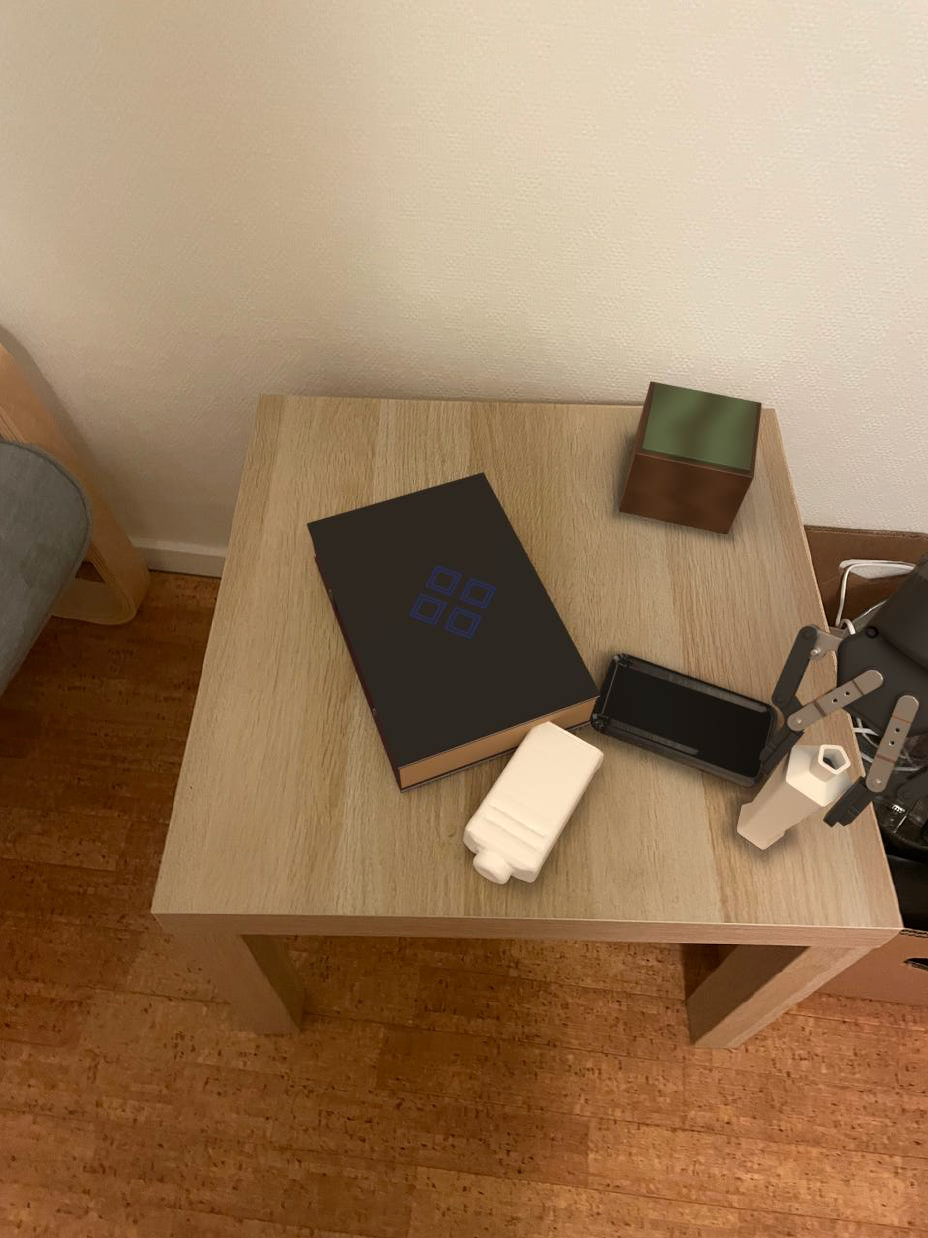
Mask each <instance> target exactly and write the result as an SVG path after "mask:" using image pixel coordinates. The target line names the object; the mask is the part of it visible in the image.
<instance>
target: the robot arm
mask: <svg viewBox="0 0 928 1238" xmlns="http://www.w3.org/2000/svg"><path fill="white" fill-rule="evenodd" d="M789 651H790V652H789V654H788V656H787V658H786V661H785V663H784V666H783V668H782V670H781V673H780V674H779V677H778V680H777V681H776V684H775V687H774V689H773V692H772V694H771V697H770V700H771V704H772V705H774V706H775V707H776V708H777V709H778V710H779V712H780V713H781V715H782V717H783V724H782V726H781V727H780V729H778V731H777V732H775V734H774V737H773V738H772V739H771V740H770V741H769V743H768V744H767V745H766V746H765V747H764V748H763V750H762V751H761V752H760V756H759V760H761V761H762V762H763V763H764V765H763V766H762V767H761V768H760V771H761V772H763V773H764V774H765V776H766V777H768V776H769V775H770V774H771V773H773V771H774V769H776V768H777V767H778V766H779V764H780V763H781V762H782V760H783V759H784V757H785V756H786V755H787V753H788V752H789V751H790V750H791V749H792V747H793V746H794V745H797V744H798V742H799V741H800V739H801V738H802V737H803V736H804V734H805V733H806V732H804V731H805V729H807V728H808V727H810V726H811V725H813V724H815V723H817V722H818V721H821V720H822V719H824V718H827V717H828V716H831V715H832V714H834V713H835V712H837V711H839V710H841V709H842V710H843V711H844V712H846V713H847V714H849V716H852V717H853V718H856V719H859V720H860V721H862V722H864V724H865V725H866V726H867V727H868V728H869V729H870V731H871V732H873V733H874V734H875V735H876V736H878V737H879V738H881V740H880V742H879V745H878V747H877V750H876V752H875V754H874V757H873V760H872V763H871V765H870V767H869V770H868V771H867V773H866V774H865V775H864V776H863V775H860V776H859V777H857V779H856V780H855V781H854V782H853V783H852V786H851V787H850V788H849V789H848V790H847V791H845V792H844V793H843V794H842V795H841V797H840V798H839V799H837V801H836V802H835V803H834V804H833V805H832V806H831V807H830V808H829V809H828V810H827V812H826V813H825V815H824V817H823V820H822V822H824V823H825V824H826V825H827V826H828V827H830V828H833V827H835V825H836V824H837V823H838V824H840V825H841V826H843V827H846V826H848V825H850V824H852V823H853V822H854V821H855V820H856V819H857V818H858V817H859V816H860V814H862V813H863V812H864V810H865V809H866V808H867V807H868V806H869V805H870V804H871V803H872V801H874V799H875V798H877V797H879V796H888V797H891V798H894V799H897V800H899V801H900V802H901V803H902V804H905V805H911V804H914V803H915V802H917V801H919V800H921V799H922V798H924V797H926V796H928V763H926V764H925V765H923V766H921V767H920V768H918V769H916V770H914V771H913V772H911V773H909V774H907V775H905V776H902V775H899V774H896V773H894V772H893V769H894V767H895V765H896V762H897V761H898V758H899V755H900V753H901V751H902V748H903V746H904V743H905V741H906V739H908V738H913V737H919V736H923V735H928V550H927V551H926V552H924V553H923V554H922V555H921V557H920V558H919V559H918V561H917V564H916V565H915V566H914V567H913V568H912V570H910V572H909V573H908V575H907V576H906V577H905V578H904V579H903V580H902V581H901V582H900V583H899V585H898V586H897V587H896V588H895V589H894V590H893V592H891V594H890V595H889V596H888V598H887V599H886V600H885V601H884V602H883V603H882V605H881V606H880V607H879V608H878V609H877V611H876V612H875V613H874V614H873V616H871V618H870V619H869V620H868V622H866V624H865V625H864V626H863V627H862V628H861V629H859V630H858V631H857V632H854V633H851V634H849V635H847V636H845V637H842V636H838V635H836V634H833V633H830V632H829V631H825V630H823V629H821V627H820V626H818V625H817V624H815V623H809V624H806V625H804V626H803V627H801V628H800V629H799V630H798V633H797V635H796V637H795V639H794V641H793V644H792V646H791V649H790V650H789ZM829 652H836V684H835V686H833V687H831V688H830V689H828V690H827V691H825V692H823V693H822V694H820V695H819V696H817V697H815V698H813V699H812V700H811V701H809V702H807V703H806V704H802V702H801V701H800V700H799V698H798V696H797V695H796V694H797V692H798V690H799V688H800V685H801V683H802V681H803V678H804V676H805V674H806V671H807V669H808V666H809V664H810V662H811V661H815V662H818V661H820V660H822V659H823V658H824V657H825V656H826V654H828V653H829Z"/></svg>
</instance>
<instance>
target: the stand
mask: <svg viewBox="0 0 928 1238" xmlns="http://www.w3.org/2000/svg"><path fill="white" fill-rule="evenodd" d="M762 405H763V403H762V402H759V401H755V400H749V399H744V398H739V397H733V396H728V395H724V394H719V393H713V392H708V391H704V390H698V389H693V388H687V387H683V386H678V385H672V384H667V383H662V382H657V381H652V380H651V381H650V382H649V384H648V387H647V392H646V396H645V399H644V403H643V406H642V411H641V414H640V418H639V421H638V424H637V429H636V432H635V436H634V439H633V444H632V449H631V454H630V457H629V463H628V467H627V473H626V477H625V480H624V481H625V482H624V486H623V491H622V496H621V500H620V504H619V512H621V513H626V514H631V515H635V516H640V517H645V518H650V519H654V520H658V521H664V522H668V523H673V524H677V525H682V526H687V527H691V528H695V529H700V530H705V531H709V532H715V533H719V534H724V535H728V534H729V532H730V530H731V527H732V525H733V523H734V521H735V519H736V516H737V514H738V512H739V510H740V508H741V506H742V503H743V501H744V500H745V497H746V495H747V493H748V491H749V489H750V487H751V485H752V482H753V480H754V478H755V472H756V471H755V469H756V461H757V450H758V443H759V433H760V432H759V431H760V423H761V413H762V407H763V406H762Z"/></svg>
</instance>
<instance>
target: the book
mask: <svg viewBox="0 0 928 1238" xmlns="http://www.w3.org/2000/svg"><path fill="white" fill-rule="evenodd" d="M306 526H307V529H308V532H309V535H310V538H311V541H312V546H313V551H314V555H315V556H314V562H315V564H316V567H317V569H318V572H319V575H320V578H321V580H322V583H323V586H324V588H325V591H326V594H327V597H328V599H329V602H330V605H331V607H332V610H333V613H334V616H335V619H336V621H337V624H338V627H339V629H340V632H341V635H342V638H343V641H344V643H345V646H346V648H347V651H348V654H349V656H350V659H351V662H352V664H353V667H354V671H355V673H356V676H357V678H358V681H359V683H360V686H361V689H362V691H363V694H364V697H365V700H366V702H367V705H368V708H369V711H370V713H371V716H372V718H373V721H374V725H375V727H376V729H377V732H378V735H379V738H380V740H381V743H382V746H383V749H384V751H385V755H386V757H387V759H388V762H389V764H390V767H391V770H392V773H393V776H394V778H395V781H396V784H397V786H398V789H399V792H400V794H403V793H405V792H409V791H411V790H413V789H416V788H417V789H418V788H419V787H422V786H424V785H428V784H430V783H433V782H435V781H439V780H441V779H444V778H447V777H449V776H452V775H454V774H455V775H456V774H457V773H460V772H463V771H466V770H468V769H470V768H474V767H477V766H479V765H482V764H485V763H487V762H491V761H493V760H496V759H498V758H502V757H504V756H506V755H509V754H512V753H515V752H516V750H517V749H518V747H519V746H520V744H521V743H522V741H523V740H524V738H525V736H526V735H527V733H528V732H529V731H530V730H531V729H532V728H534V727H535V726H538V725H540V724H543V723H546V722H548V721H549V722H552V723H553V724H555V725H556V726H558V727H560V728H562V729H563V730H565V731H567V732H569V733H570V732H572V731H575V730H577V729H580V728H584V727H586V726H588V725H592V724H591V716H592V713H593V710H594V707H595V705H596V702H597V699H598V698H599V697H600V695H601V693H600V691H601V690H599V688H598V686H597V684H596V682H595V680H594V678H593V676H592V674H591V672H590V671H589V669H588V667H587V665H586V663H585V661H584V659H583V658H582V655H581V654H580V651H579V649H578V648H577V646H576V644H575V642H574V641H573V639H572V636H571V635H570V632H569V631H568V629H567V627H566V625H565V624H564V622H563V620H562V617H561V615H560V614H559V612H558V610H557V608H556V606H555V605H554V602H553V601H552V599H551V597H550V595H549V593H548V592H547V589H546V588H545V586H544V584H543V582H542V580H541V578H540V576H539V574H538V572H537V570H536V569H535V567H534V564H533V563H532V560H531V558H530V557H529V555H528V553H527V552H526V550H525V548H524V546H523V544H522V542H521V540H520V538H519V537H518V535H517V532H516V530H515V529H514V526H513V525H512V522H511V521H510V519H509V517H508V515H507V514H506V511H505V510H504V508H503V505H502V504H501V502H500V501H499V498H498V496H497V495H496V493H495V491H494V489H493V487H492V485H491V483H490V482H489V479H488V477H487V475H486V474H485V472H478V473H475V474H472V475H468V476H466V477H462V478H458V479H454V480H451V481H447V482H444V483H440V484H438V485H434V486H431V487H427V488H423V489H421V490H418V491H413V492H409V493H407V494H403V495H399V496H396V497H393V498H389V499H386V500H383V501H379V502H376V503H372V504H369V505H365V506H362V507H359V508H354V509H352V510H347V511H345V512H341V513H338V514H334V515H330V516H328V517H323V518H320V519H317V520H313V521H310V522H307V523H306Z"/></svg>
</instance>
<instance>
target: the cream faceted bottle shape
mask: <svg viewBox="0 0 928 1238" xmlns="http://www.w3.org/2000/svg"><path fill="white" fill-rule="evenodd" d="M849 767H851V761H850V759H849V757H848V754H847V753H846V751H845V749H844V748H843V746H841V745H838V744H821V745H806V744H805V745H804V744H795V745H794V746H793V747H792V749H791V750H790V751H789V752H788V753H787V754H786V755H785V757H784V758H783V759H782V760H781V761H780V762H779V764H778V765H777V766H776V768H775V770H773V772H772V774H771V775H770V777H769V778H768V779H767V781H766V782H765V784H764V785H763V787H762V788H761V789H760V791H759V792H758V794H757V795H756V796H755V798H754V799H753V800H752V801H751V802H748V803H743V804H742V805H741V808H740V813H739V817H738V822H737V824H736V825H737V826H736V832H737V833H738V834H739V835H740V836H742V837H743V838H745V839H746V840H747V841H748V842H751V843H752V844H753V845H754V846H756V848H758V849H760V850H762V851H764V850H766V849H767V848H769V847H770V846H771V845H773V844H774V843H776V842H777V841H778V840H780V839H781V838H782V837H784V836H785V833H786V832H785V831H786V830H788V829H790V828H791V827H793V826H794V825H796V824H798V823H800V822H801V821H804V820H805V819H806V818H808V817H810V816H811V815H813V814H815V813H816V812H818V811H819V810H821V809H823V808H825V807H826V806H827V805H829V804H830V803H832V802H833V801H834V800H836V799H837V798H839V797H840V796H842V795H843V794H844V793H845V792H846V791H847V790H848V789H849V788H850V787H851V786H852V785H853V781H852V780H851V778H850V776H849V774H848V772H847V769H848V768H849Z"/></svg>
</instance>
